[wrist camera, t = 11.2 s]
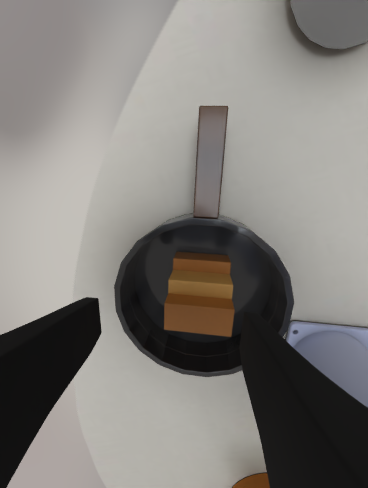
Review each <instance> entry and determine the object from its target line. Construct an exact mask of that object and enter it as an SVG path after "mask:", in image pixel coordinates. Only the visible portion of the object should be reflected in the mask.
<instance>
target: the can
mask: <svg viewBox="0 0 368 488" xmlns="http://www.w3.org/2000/svg"><path fill="white" fill-rule="evenodd" d="M291 8H292V11H293V14H294V16H295V19H296V22H297V25H298V27H299V28H300V29H301V30H302V31H303V33H304V34H305V35H306V36H307V37H308V38H309V40H311V41H313V42H315V43H317V44H319V45H321V46H323V47H325V48H336V49H346V48H349V47H353V46H356V45H360V44H363V43H365V42H367V41H368V0H291Z"/></svg>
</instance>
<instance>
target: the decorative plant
mask: <svg viewBox="0 0 368 488" xmlns="http://www.w3.org/2000/svg"><path fill="white" fill-rule="evenodd" d="M232 488H270V486H269V480H268V475H267V473H262V474H257V475H252V476H249V477H247V478H244V479H242V480H241V481H239V482H237V483H236V484H235V485H234V486H233V487H232Z"/></svg>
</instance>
